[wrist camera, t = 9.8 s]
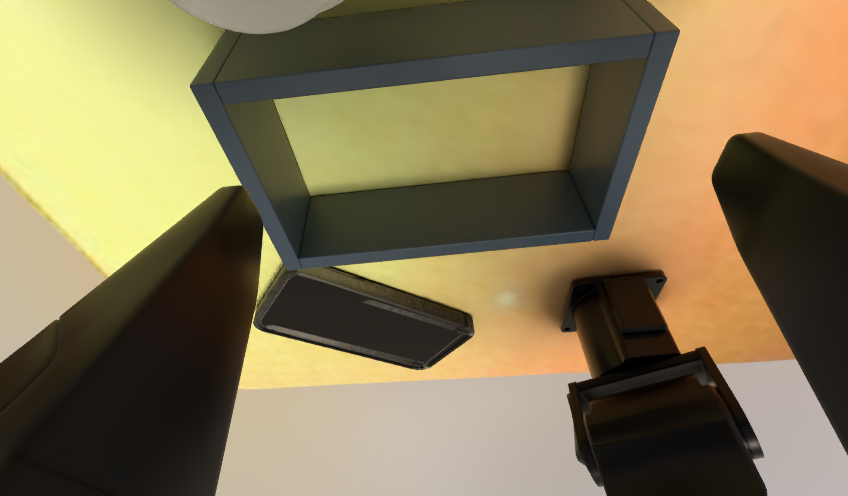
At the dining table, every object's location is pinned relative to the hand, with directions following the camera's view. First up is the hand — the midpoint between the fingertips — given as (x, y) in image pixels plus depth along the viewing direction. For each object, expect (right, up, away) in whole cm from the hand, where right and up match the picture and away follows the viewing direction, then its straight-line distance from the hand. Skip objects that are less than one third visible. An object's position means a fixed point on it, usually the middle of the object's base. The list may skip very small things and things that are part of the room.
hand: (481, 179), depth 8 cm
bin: (-1, +5, +12) cm, 13 cm away
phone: (-5, -6, +24) cm, 25 cm away
